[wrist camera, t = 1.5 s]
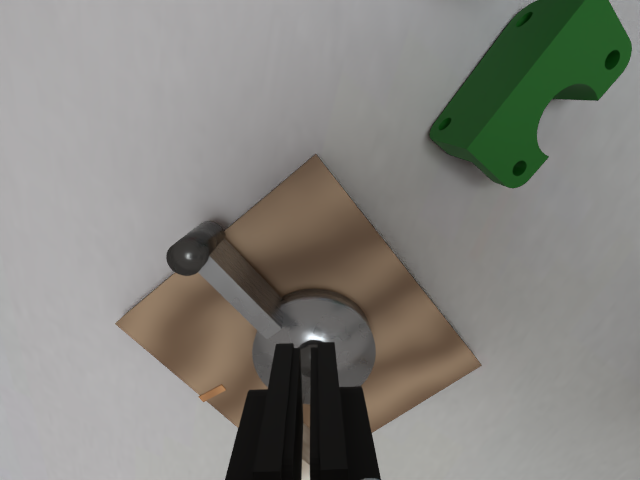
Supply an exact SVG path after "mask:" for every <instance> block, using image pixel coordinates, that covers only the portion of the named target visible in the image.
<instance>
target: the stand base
mask: <svg viewBox="0 0 640 480" xmlns="http://www.w3.org/2000/svg"><path fill="white" fill-rule="evenodd" d="M224 234H225V239H226V240H227V241H228V242H229V243H230V244H231V245H232V246H233V247H234V248H235V249H236V250H237V251H238V252H239V254H240V255H241V256H242V257H243V258H244V259H245V260H246V261H247V262H248V263H249V264H250V265H251V266H252V267H253V268H254V269H255V270H256V271H257V272H258V273H259V274H260V275H261V277H262V278H263V279H264V280H265V281H266V282H267V283H268V284H269V285H270V286H271V287H272V288H273V289H274V290H275V291H276V292H277V293H278V294H279V295H280V296H281V297H283V296H285V295H287V294H289V293H292V292H295V291H299V290H304V289H325V290H330V291H333V292H337V293H339V294H342V295H344V296H345V297H347V298H349V299H350V300H352V301H353V302H354V303H355V304H356V305H357V306H358V307H360V309H361V310H362V311H363V313H364V314H365V316H366V318H367V319H368V322H369V325H370V328H371V331H372V334H373V338H374V342H375V347H376V356H375V362H374V366H373V369H372V371H371V373H370V375H369V376H368V378H367V379H366V381H365V382H364V383H363V384H362V385H361V386H362V388H363V392H364V397H365V402H366V407H367V412H368V418H369V423H370V428H371V433H372V432H374V431H376V430H377V429H379V428H381V427H382V426H384V425H386V424H387V423H389V422H390V421H392V420H394V419H395V418H397V417H399V416H400V415H402V414H403V413H405V412H407V411H408V410H410V409H412V408H413V407H415V406H416V405H418V404H420V403H421V402H423V401H425V400H426V399H428V398H429V397H431V396H433V395H434V394H436V393H438V392H439V391H441V390H443V389H444V388H446V387H447V386H449V385H451V384H452V383H454V382H456V381H457V380H459V379H460V378H462V377H464V376H465V375H467V374H469V373H470V372H472V371H473V370H475V369H477V368H478V367H480V366H482V365H481V364H480V362H479V361H478V360H477V358H476V357H475V356H474V354H473V353H472V352H471V351H470V349H469V348H468V347H467V345H466V344H465V343H464V342H463V340H462V339H461V338H460V337H459V335H458V334H457V333H456V331H455V330H454V329H453V328H452V326H451V325H450V324H449V323H448V321H447V320H446V319H445V317H444V316H443V315H442V314H441V312H440V311H439V310H438V309H437V307H436V306H435V305H434V303H433V302H432V301H431V300H430V298H429V297H428V296H427V295H426V293H425V292H424V291H423V289H422V288H421V287H420V286H419V284H418V283H417V282H416V281H415V279H414V278H413V277H412V275H411V274H410V273H409V272H408V270H407V269H406V268H405V267H404V265H403V264H402V263H401V261H400V260H399V259H398V258H397V256H396V255H395V254H394V253H393V251H392V250H391V249H390V247H389V246H388V245H387V244H386V242H385V241H384V240H383V239H382V237H381V236H380V235H379V233H378V232H377V231H376V230H375V228H374V227H373V226H372V225H371V223H370V222H369V221H368V220H367V218H366V217H365V216H364V214H363V213H362V212H361V211H360V209H359V208H358V207H357V206H356V204H355V203H354V202H353V200H352V199H351V198H350V197H349V195H348V194H347V193H346V192H345V190H344V189H343V188H342V186H341V185H340V184H339V183H338V181H337V180H336V179H335V178H334V176H333V175H332V174H331V172H330V171H329V170H328V169H327V167H326V166H325V165H324V164H323V162H322V161H321V160H320V158H319V157H318V156H317V155H316V154H315V155H314V156H313V157H311V158H310V159H309V160H308V161H307V162H306V163H304V164H303V165H302V166H301V167H300V168H298V169H297V170H296V171H295V172H294V173H292V174H291V175H290V176H289V177H288V178H287V179H285V180H284V181H283V182H282V183H281V184H279V185H278V186H277V187H276V188H275V189H273V190H272V191H271V192H270V193H269V194H268V195H266V196H265V197H264V198H263V199H262V200H260V201H259V202H258V203H257V204H256V205H254V206H253V207H252V208H251V209H250V210H248V211H247V212H246V213H245V214H244V215H243V216H241V217H240V218H239V219H238V220H237V221H235V222H234V223H233V224H232V225H231V226H229V227H228V228H227V229H226V230H225V231H224ZM115 324H116V325H117V326H118V327H119V328H121V329H122V330H123V331H124V332H125V333H127V334H128V335H129V336H130V337H131V338H132V339H134V340H135V341H136V342H137V343H138V344H140V345H141V346H142V347H143V348H144V349H146V350H147V351H148V352H149V353H150V354H151V355H153V356H154V357H155V358H156V359H157V360H159V361H160V362H161V363H162V364H163V365H164V366H166V367H167V368H168V369H169V370H170V371H172V372H173V373H174V374H175V375H176V376H177V377H179V378H180V379H181V380H182V381H183V382H185V383H186V384H187V385H188V386H189V387H191V388H192V389H193V390H194V391H195V392H196V393H198V394H199V395H200V396H199V398H200V399H201V400H202V401H203V402H204V401H207V402H208V403H209V404H211V405H212V406H213V407H214V408H215V409H217V410H218V411H219V412H220V413H221V414H222V415H224V416H225V417H226V418H227V419H228V420H230V421H231V422H232V423H233V424H234V425H235V426H237V427H238V428H239V424H240V420H241V416H242V412H243V408H244V404H245V400H246V396H247V393H248V391H249V390H257V389H268V387H267V386H266V385H265V384H264V383H263V382H262V380H261V379H260V378H259V376H258V374H257V372H256V370H255V367H254V364H253V358H252V349H253V343H254V339H255V336H256V332H257V329H255V328H254V327H253V326H252V325H251V324H250V323H249V322H248V321H247V320H246V319H245V318H244V317H243V316H242V315H241V314H240V313H239V312H238V311H237V310H236V309H235V308H234V307H233V306H232V305H231V304H230V303H229V302H228V301H227V300H226V299H225V298H224V297H223V296H222V295H221V294H220V293H219V292H218V291H217V290H216V289H215V288H214V287H213V286H212V285H210V284H209V283H208V282H207V281H206V280H205V279H204V278H203V277H202V276H201V275H200V274H199V273H196V274H194V275H191V276H183V275H180V274H177V273H176V272H175V273H174V274H172V275H171V276H170V277H169V278H168V279H167V280H165V281H164V282H163V283H162V284H161V285H159V286H158V287H157V288H156V289H155V290H153V291H152V292H151V293H150V294H149V295H147V296H146V297H145V298H144V299H143V300H142V301H140V302H139V303H138V304H137V305H136V306H134V307H133V308H132V309H131V310H130V311H128V312H127V313H126V314H125V315H124V316H123V317H122V318H121V319H120V320H119V321H117V322H116V323H115ZM301 480H310V404H303V449H302V479H301Z"/></svg>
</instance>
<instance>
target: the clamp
mask: <svg viewBox="0 0 640 480" xmlns="http://www.w3.org/2000/svg"><path fill="white" fill-rule="evenodd" d="M631 51H632V45H631V41H630V39H629V37H628V35H627V34H626V32H625V30H624V28H623V26H622V24H621V22H620V21H619V19H618V17H617V15H616V13H615V11H614V10H613V8H612V6H611V4H610V2H609V0H538V1H535V2H533V3H531V4H529V5H528V6H526V7H525V8H524V9H522V10H521V11H520V12H519V13H518V14H517V15H516V16H515V17H514V18H513V19H512V20H511V21H510V23H509V24H508V25H507V27H506V28H505V29H504V31H503V32H502V33H501V35H500V36H499V37H498V39H497V40H496V41H495V43H494V44H493V45H492V47H491V48H490V49H489V51H488V52H487V53H486V55H485V56H484V57H483V59H482V60H481V61H480V63H479V64H478V65H477V67H476V68H475V69H474V71H473V72H472V73H471V75H470V76H469V77H468V79H467V80H466V81H465V83H464V84H463V85H462V87H461V88H460V89H459V91H458V92H457V93H456V95H455V96H454V97H453V99H452V100H451V101H450V103H449V104H448V105H447V107H446V108H445V109H444V111H443V112H442V113H441V115H440V116H439V117H438V119H437V120H436V121H435V123H434V124H433V126H432V128H431V130H430V138H431V139H432V140H433V141H434V142H435V143H436V144H437V145H439V146H440V147H441V148H442V149H443V150H444V151H445V152H446V153H447V154H449V155H452V156H455V157H458V158H461V159H464V160H467V161H470V162H472V163H473V164H475V165H476V166H477V167H478V168H479V169H480V170H481V171H482V172H483V173H484V174H485V175H486V176H487V177H489V178H490V179H491V180H492V181H493V182H495V183H498V184H501V185H503V186H506V187H509V188H517V187H520V186H522V185H523V184H525V183H526V182H527V181H528V180H529V179H530V178H531V177H532V176H533V175H534V173H535V172H536V171H537V170H538V169H539V168H540V166H541V165H542V164H543V163H544V162H545V161H546V160H547V158H548V157H549V156H547V155H545V154H544V153H543V152H542V151H541V150H540V148H539V146H538V142H537V128H538V124H539V120H540V118H541V115H542V113H543V111H544V109H545V108H546V106H547V105H548V103H549V102H550V101H551V100H552V99H571V100H596V101H598V100H599V99H600V98H601V97H602V96H603V94H604V93H605V92H606V91H607V90H608V89H609V87H610V86H611V85H612V84H613V83H614V82H615V81H616V79H617V78H618V77H619V76H620V75H621V74H622V72H623V71H624V70H625V68H626V66H627V65H628V62H629V60H630V57H631Z"/></svg>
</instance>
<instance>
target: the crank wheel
mask: <svg viewBox="0 0 640 480" xmlns="http://www.w3.org/2000/svg"><path fill="white" fill-rule="evenodd" d="M167 263H168V265H169V267H170V268H171V269H172V270H173V271H174V272H176V273H177V274H180V275H183V276H191V275H194V274H196V273H199V274H200V275H201V276H202V277H203V278H204V279H205V280H206V281H207V282H208V283H209V284H210V285H212V286H213V287H214V288H215V289H216V290H217V291H218V292H219V293H220V294H221V295H222V296H223V297H224V298H225V299H226V300H227V301H228V302H229V303H230V304H231V305H232V306H233V307H234V308H235V309H236V310H237V311H238V312H239V313H240V314H241V315H242V316H243V317H244V318H245V319H246V320H247V321H248V322H249V323H250V324H251V325H252V326H253V327H254V328H255V329H257V332H256V336H255V339H254V343H253V349H252V358H253V364H254V367H255V370H256V372H257V374H258V376H259V378H260V379H261V380H262V382H263V383H264V384H265V385H266V386H267V387H268V384H269V379H270V373H271V368H272V362H273V357H274V351H275V346H276V344H281V343H293V344H294V348H300V351H301V375H302V398H303V404H310V373H311V347H318V343H317V342H334V343H335V351H336V360H337V370H338V379H339V387H357V386H361V385H362V384H363V383H364V382H365V381H366V379H367V378H368V376H369V375H370V373H371V371H372V369H373V366H374V362H375V356H376V347H375V342H374V338H373V334H372V331H371V328H370V325H369V322H368V319H367V318H366V316H365V314H364V313H363V311H362V310H361V309H360V307H358V306H357V305H356V304H355V303H354V302H353V301H352V300H350V299H349V298H347V297H345V296H344V295H342V294H339V293H337V292H333V291H330V290H325V289H304V290H299V291H295V292H292V293H289V294H287V295H285V296H283V297H281V296H280V295H279V294H278V293H277V292H276V291H275V290H274V289H273V288H272V287H271V286H270V285H269V284H268V283H267V282H266V281H265V280H264V279H263V278H262V277H261V275H260V274H259V273H258V272H257V271H256V270H255V269H254V268H253V267H252V266H251V265H250V264H249V263H248V262H247V261H246V260H245V259H244V258H243V257H242V256H241V255H240V254H239V252H238V251H237V250H236V249H235V248H234V247H233V246H232V245H231V244H230V243H229V242H228V241H227V240H226V239H225V234H224V231H223V229H222V228H221V226H219V225H218V224H217V223H214V222H210V221H207V222H203V223H201V224H200V225H199V226H197V227H196V228H195V229H193V230H192V231H191V232H189V233H188V234H187V235H185V236H184V237H183V238H182V239H180V240H179V241H178V242H176V243H175V244H174V245H172V246H171V247H170V248H169V250H168V252H167Z"/></svg>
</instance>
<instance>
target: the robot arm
mask: <svg viewBox="0 0 640 480" xmlns="http://www.w3.org/2000/svg"><path fill="white" fill-rule="evenodd" d="M317 343H318V347H311V373H310V480H381V478H380V473H379V468H378V463H377V458H376V453H375V448H374V443H373V438H372V433H371V428H370V423H369V418H368V412H367V407H366V402H365V397H364V392H363V388H362V386H357V387H339V379H338V370H337V360H336V351H335V343H334V342H317ZM302 449H303V398H302V375H301V351H300V348H294V344H293V343H281V344H276V346H275V351H274V357H273V362H272V368H271V373H270V379H269V384H268V389H257V390H249V391H248V393H247V396H246V400H245V404H244V408H243V412H242V416H241V420H240V424H239V428H238V431H237V435H236V439H235V443H234V447H233V451H232V455H231V459H230V463H229V467H228V470H227V474H226V478H225V480H301V479H302Z"/></svg>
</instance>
